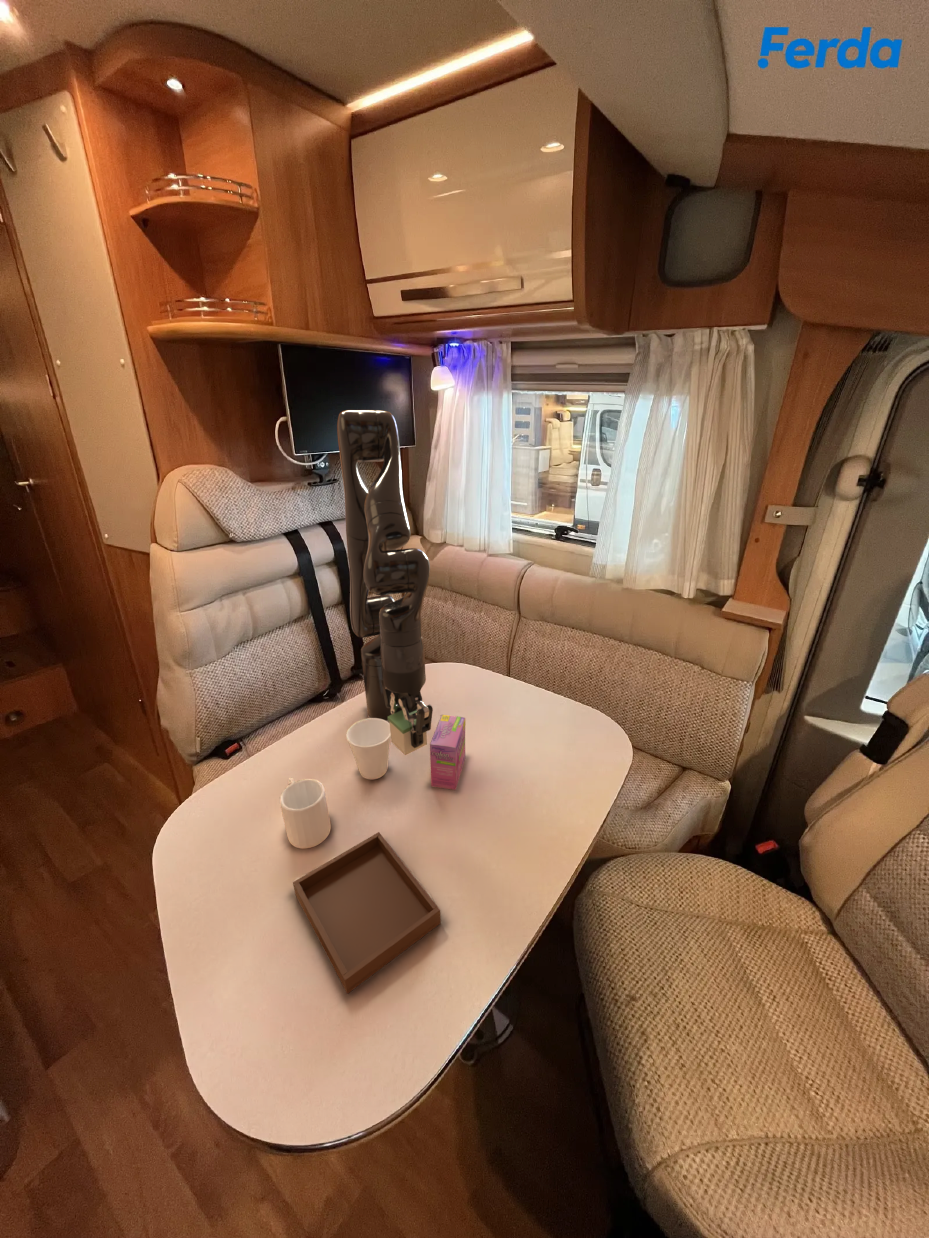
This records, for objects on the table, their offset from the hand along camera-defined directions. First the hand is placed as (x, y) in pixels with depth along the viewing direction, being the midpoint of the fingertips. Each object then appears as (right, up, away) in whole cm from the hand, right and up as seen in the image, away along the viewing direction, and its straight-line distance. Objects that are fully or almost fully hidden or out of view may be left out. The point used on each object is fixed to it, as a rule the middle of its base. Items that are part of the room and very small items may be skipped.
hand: (408, 736), depth 94 cm
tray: (-6, -26, -11) cm, 29 cm away
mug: (-21, -19, +4) cm, 28 cm away
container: (0, -1, +1) cm, 2 cm away
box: (+7, -12, +17) cm, 22 cm away
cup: (-10, -12, +18) cm, 24 cm away
